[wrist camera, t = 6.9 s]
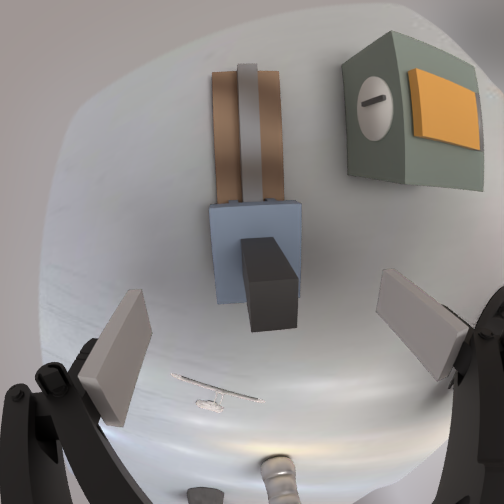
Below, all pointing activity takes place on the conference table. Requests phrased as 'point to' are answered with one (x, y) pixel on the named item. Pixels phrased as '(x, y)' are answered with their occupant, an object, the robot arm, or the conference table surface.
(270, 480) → the plastic bottle
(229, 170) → the rail
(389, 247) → the conference table surface
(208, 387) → the picture light
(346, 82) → the gauge cabinet
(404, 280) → the robot arm
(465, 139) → the orange slab
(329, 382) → the conference table surface
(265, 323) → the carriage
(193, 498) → the coffeepot
